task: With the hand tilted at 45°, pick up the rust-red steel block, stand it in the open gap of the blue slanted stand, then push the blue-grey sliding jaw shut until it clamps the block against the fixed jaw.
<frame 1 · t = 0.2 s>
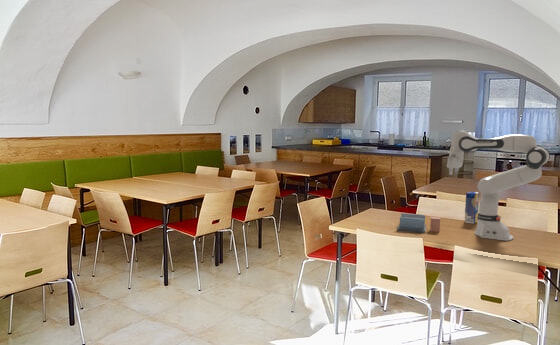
hand: (453, 174, 294), 39 cm above the table, tool pointing down, fingers open, 8 cm apart
beverage box: (470, 221, 323), on the table
blue slanted stand: (411, 228, 298), on the table
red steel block: (434, 230, 293), on the table
sliding jaw: (412, 219, 304), point 5 cm above the table, slide at 5.0 cm
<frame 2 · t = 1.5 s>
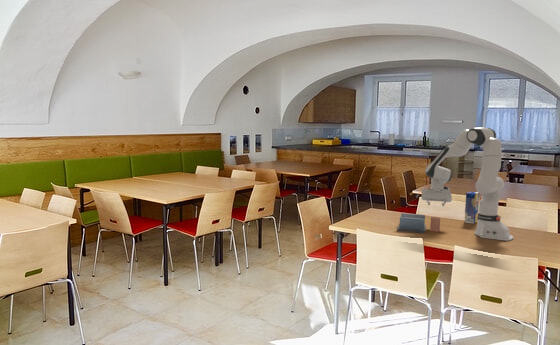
hand: (436, 205, 303), 16 cm above the table, tool tilted 45°, fingers open, 8 cm apart
nothing on the table moved.
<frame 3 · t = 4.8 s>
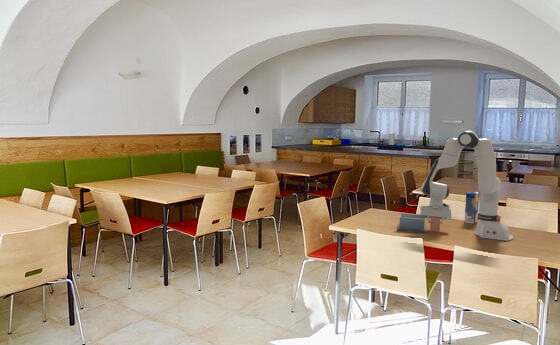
hand: (435, 223, 292), 5 cm above the table, tool tilted 45°, fingers closed on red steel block, 6 cm apart
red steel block: (434, 230, 293), on the table, touching gripper
everything else where it was.
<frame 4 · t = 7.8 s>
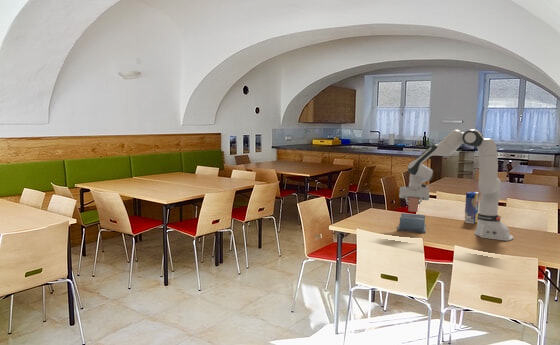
hand: (413, 203, 296), 18 cm above the table, tool tilted 45°, fingers closed on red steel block, 6 cm apart
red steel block: (412, 210, 297), point 13 cm above the table, touching gripper
everything else where it was.
when the fingers open (8 cm above the table, at t = 10.5 s): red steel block drops 1 cm, resting on blue slanted stand.
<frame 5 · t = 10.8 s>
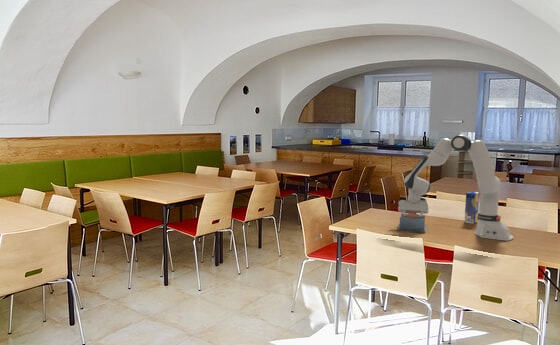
hand: (412, 217, 297), 8 cm above the table, tool tilted 45°, fingers open, 8 cm apart
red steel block: (412, 226, 298), point 1 cm above the table, touching blue slanted stand
everything else where it was.
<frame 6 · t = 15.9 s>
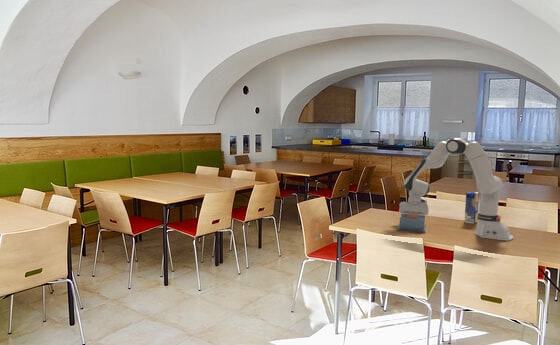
hand: (413, 218, 305), 6 cm above the table, tool tilted 45°, fingers closed, pressing on sliding jaw
sliding jaw: (412, 219, 303), point 5 cm above the table, slide at 3.4 cm, touching gripper
everything else where it was.
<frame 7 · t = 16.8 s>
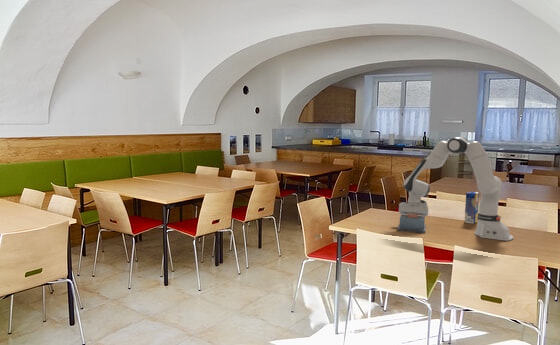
hand: (412, 219, 302), 6 cm above the table, tool tilted 45°, fingers closed, pressing on sliding jaw
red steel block: (412, 226, 297), point 2 cm above the table, touching blue slanted stand, sliding jaw
sliding jaw: (412, 220, 300), point 5 cm above the table, slide at 0.1 cm, touching gripper, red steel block
everything else where it was.
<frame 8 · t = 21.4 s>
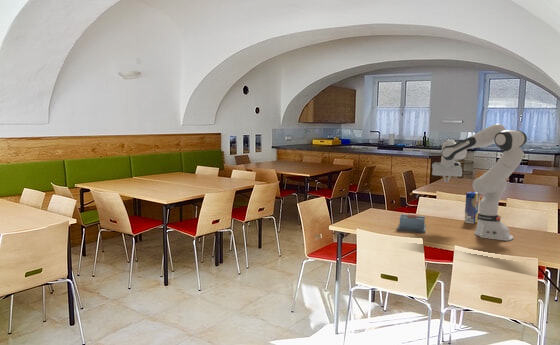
hand: (446, 182, 309), 31 cm above the table, tool pointing down, fingers closed
sliding jaw: (412, 220, 300), point 5 cm above the table, slide at 0.1 cm, touching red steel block
everything else where it was.
at the end: sliding jaw slide at 0.1 cm; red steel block 0.3 cm from the target spot on the blue slanted stand, point 1.5 cm above the blue slanted stand's base; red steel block tilted 0° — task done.
